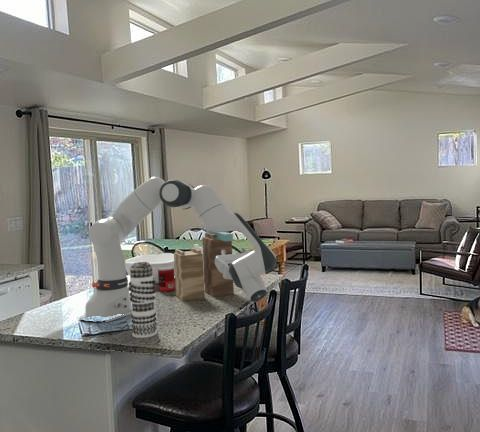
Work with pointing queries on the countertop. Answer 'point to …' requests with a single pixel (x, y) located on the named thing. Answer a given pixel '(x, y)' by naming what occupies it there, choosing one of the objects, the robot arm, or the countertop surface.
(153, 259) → the baking dish
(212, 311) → the countertop surface
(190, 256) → the tan wooden tall block
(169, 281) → the canned food
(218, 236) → the teal block
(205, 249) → the end cap post
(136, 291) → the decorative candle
